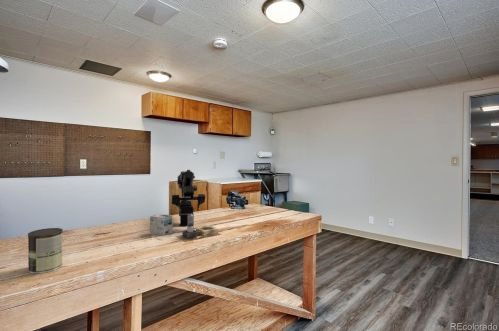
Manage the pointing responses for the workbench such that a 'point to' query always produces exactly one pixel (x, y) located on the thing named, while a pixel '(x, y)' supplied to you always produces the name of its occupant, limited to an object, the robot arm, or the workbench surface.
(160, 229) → the light bulb box
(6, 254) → the workbench surface
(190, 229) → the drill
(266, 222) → the workbench surface
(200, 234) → the socket rack board
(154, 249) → the workbench surface
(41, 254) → the coffee can
